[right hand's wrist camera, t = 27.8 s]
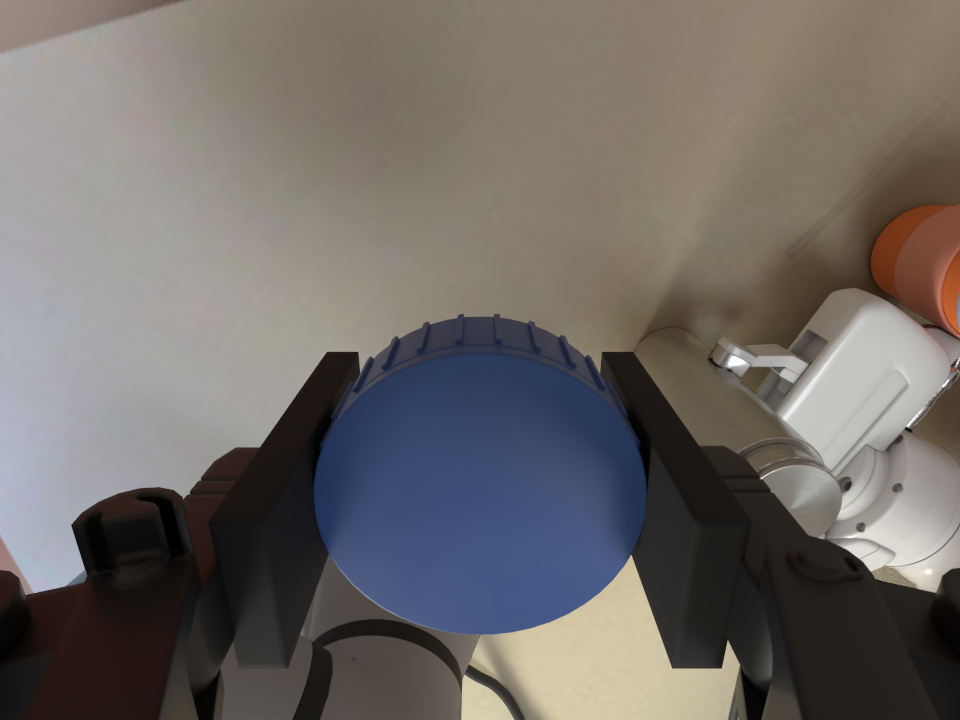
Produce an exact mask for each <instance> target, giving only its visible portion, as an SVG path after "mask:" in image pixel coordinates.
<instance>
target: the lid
mask: <svg viewBox="0 0 960 720" xmlns="http://www.w3.org/2000/svg"><path fill="white" fill-rule="evenodd" d="M627 417H628V414H627V413H626V411H625V409H624V407H623V405H622V403H621V401H620V399H619V397H618V395H617V394H616V392H615V390H614V388H613V386H612V384H611V382H610V381H609V380H607V381H605V380H604V379H603V377H602V376H601V375H600V373H599V372H598V370H597V368H596V366H595V364H594V362H593V360H592V358H591V357H590V356H589V355H587V356H586V357H584V356H583V355H582V354H581V353H580V352H579V351H578V350H576V349H575V348H574V347H572V346H571V345H570V344H568V342H567V339H566V337H564V336H563V335H561V336H560V337H557V336H555V335H553V334H551V333H549V332H548V331H546V330H543V329H540V328H538V327H536V326H535V323H534V322H532V321H529V323H528V324H527V323H523V322H519V321H514V320H510V319H504V318H500V315H499V314H494V317H464V314H460V315H458V319H451V320H445V321H442V322H438V323H434V324H431V325H430V324H429V322H426V323H424V324H423V327H422V328H420V329H418V330H416V331H413V332H411V333H409V334H407V335H405V336H404V337H402V338H400V339H399V338H398V337H397V336H396V337H395V338H393V339H392V341H391V344H390V345H389V346H388V347H387V348H386V349H384V350H383V351H382V352H381V353H379V354H378V355H377V356H376V357H375V358H374V359H373V358H372V357H369V358H368V359H367V361H366V363H365V365H364V367H363V369H362V371H361V373H360V375H359V377H358V378H357V380H356V381H355V383H353V382H350V383H349V385H348V387H347V389H346V391H345V393H344V394H343V396H342V398H341V400H340V402H339V404H338V406H337V408H336V410H335V412H334V414H333V415H332V417H331V419H333V420H332V422H331V424H330V426H329V428H328V430H327V432H326V434H325V436H324V438H323V440H322V442H321V444H320V446H319V450H321V452H320V455H319V458H318V461H317V464H316V469H315V475H314V481H313V495H314V504H315V512H316V520H317V525H318V528H319V532H320V535H321V538H322V540H323V542H324V544H325V547H326V549H327V551H328V553H329V555H330V556H331V558H332V559H333V561H334V562H335V564H336V565H337V567H338V569H339V570H340V571H341V572H342V573H343V575H344V576H345V577H346V578H347V579H348V580H349V582H350V583H351V584H352V585H353V586H354V587H356V588H357V589H358V590H359V591H360V592H361V593H362V594H363V595H365V596H366V597H367V598H369V599H370V600H371V601H373V602H374V603H376V604H377V605H378V606H380V607H381V608H383V609H385V610H387V611H389V612H391V613H392V614H394V615H396V616H398V617H400V618H403V619H405V620H408V621H410V622H412V623H415V624H418V625H421V626H425V627H428V628H431V629H435V630H440V631H446V632H451V633H460V634H472V635H483V634H500V633H509V632H515V631H520V630H525V629H529V628H533V627H536V626H539V625H542V624H545V623H548V622H551V621H553V620H555V619H558V618H560V617H562V616H564V615H567V614H569V613H570V612H572V611H574V610H575V609H577V608H579V607H580V606H582V605H584V604H585V603H587V602H588V601H589V600H591V599H592V598H593V597H595V596H596V595H597V594H599V593H600V592H601V591H602V590H603V589H604V588H605V587H606V586H607V585H608V584H609V583H610V582H611V581H612V580H613V579H614V578H615V577H616V575H617V574H618V573H619V572H620V570H621V569H622V568H623V567H624V565H625V564H626V562H627V560H628V559H629V557H630V555H631V554H632V552H633V550H634V548H635V546H636V544H637V541H638V539H639V537H640V534H641V531H642V527H643V522H644V515H645V507H646V499H647V476H646V471H645V466H644V462H643V458H642V455H641V453H640V450H639V448H640V447H641V444H640V441H639V439H638V438H637V436H636V434H635V432H634V430H633V428H632V426H631V424H630V422H629V420H628V418H627Z"/></svg>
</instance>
